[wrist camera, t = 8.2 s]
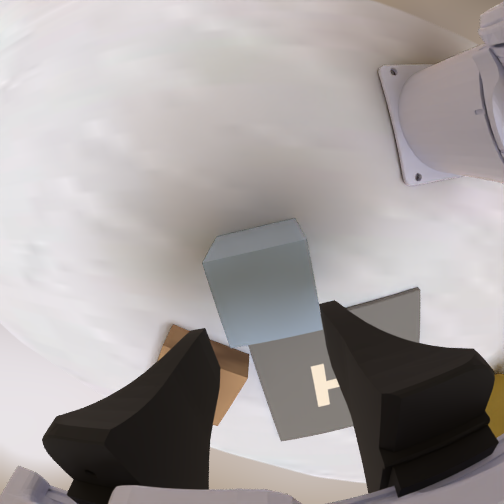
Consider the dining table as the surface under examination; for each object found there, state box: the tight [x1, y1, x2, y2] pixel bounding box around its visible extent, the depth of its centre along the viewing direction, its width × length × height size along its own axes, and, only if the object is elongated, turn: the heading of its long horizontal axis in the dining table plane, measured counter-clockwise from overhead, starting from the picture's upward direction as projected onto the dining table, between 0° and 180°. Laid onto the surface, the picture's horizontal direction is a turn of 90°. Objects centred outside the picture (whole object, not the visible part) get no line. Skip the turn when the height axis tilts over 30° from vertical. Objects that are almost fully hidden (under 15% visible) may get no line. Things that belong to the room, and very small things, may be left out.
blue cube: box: [202, 218, 323, 348], centre depth 17 cm, size 5×5×5 cm
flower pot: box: [485, 374, 504, 438], centre depth 19 cm, size 9×9×9 cm
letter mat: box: [248, 288, 420, 441], centre depth 22 cm, size 13×13×1 cm
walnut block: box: [158, 324, 249, 426], centre depth 21 cm, size 6×6×3 cm
